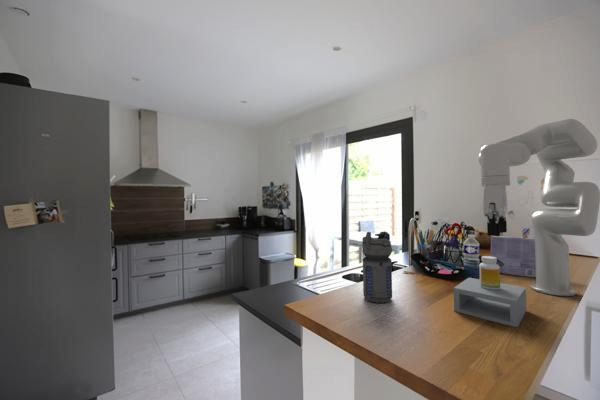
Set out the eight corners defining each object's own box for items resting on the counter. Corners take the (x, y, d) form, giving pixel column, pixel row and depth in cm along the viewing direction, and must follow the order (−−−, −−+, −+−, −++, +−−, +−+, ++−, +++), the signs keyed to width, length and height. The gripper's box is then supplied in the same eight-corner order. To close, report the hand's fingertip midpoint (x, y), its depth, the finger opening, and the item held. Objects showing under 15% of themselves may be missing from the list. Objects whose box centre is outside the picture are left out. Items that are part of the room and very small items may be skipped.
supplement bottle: (503, 290, 83) (503, 259, 83) (484, 289, 84) (483, 258, 84) (494, 285, 88) (494, 255, 88) (476, 284, 89) (475, 255, 89)
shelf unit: (469, 298, 97) (468, 277, 97) (526, 310, 85) (525, 287, 85) (454, 310, 86) (453, 287, 86) (517, 327, 74) (516, 300, 75)
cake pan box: (542, 276, 121) (541, 237, 122) (543, 279, 118) (542, 239, 118) (491, 270, 134) (490, 235, 134) (490, 272, 130) (489, 236, 130)
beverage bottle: (401, 297, 99) (399, 230, 99) (380, 307, 90) (379, 233, 90) (377, 290, 107) (376, 228, 107) (356, 299, 98) (355, 231, 98)
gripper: (488, 182, 96) (490, 230, 96) (474, 182, 84) (476, 236, 84) (515, 181, 90) (516, 231, 91) (503, 180, 79) (506, 238, 79)
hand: (497, 233), depth 88 cm, fingers open, 9 cm apart
